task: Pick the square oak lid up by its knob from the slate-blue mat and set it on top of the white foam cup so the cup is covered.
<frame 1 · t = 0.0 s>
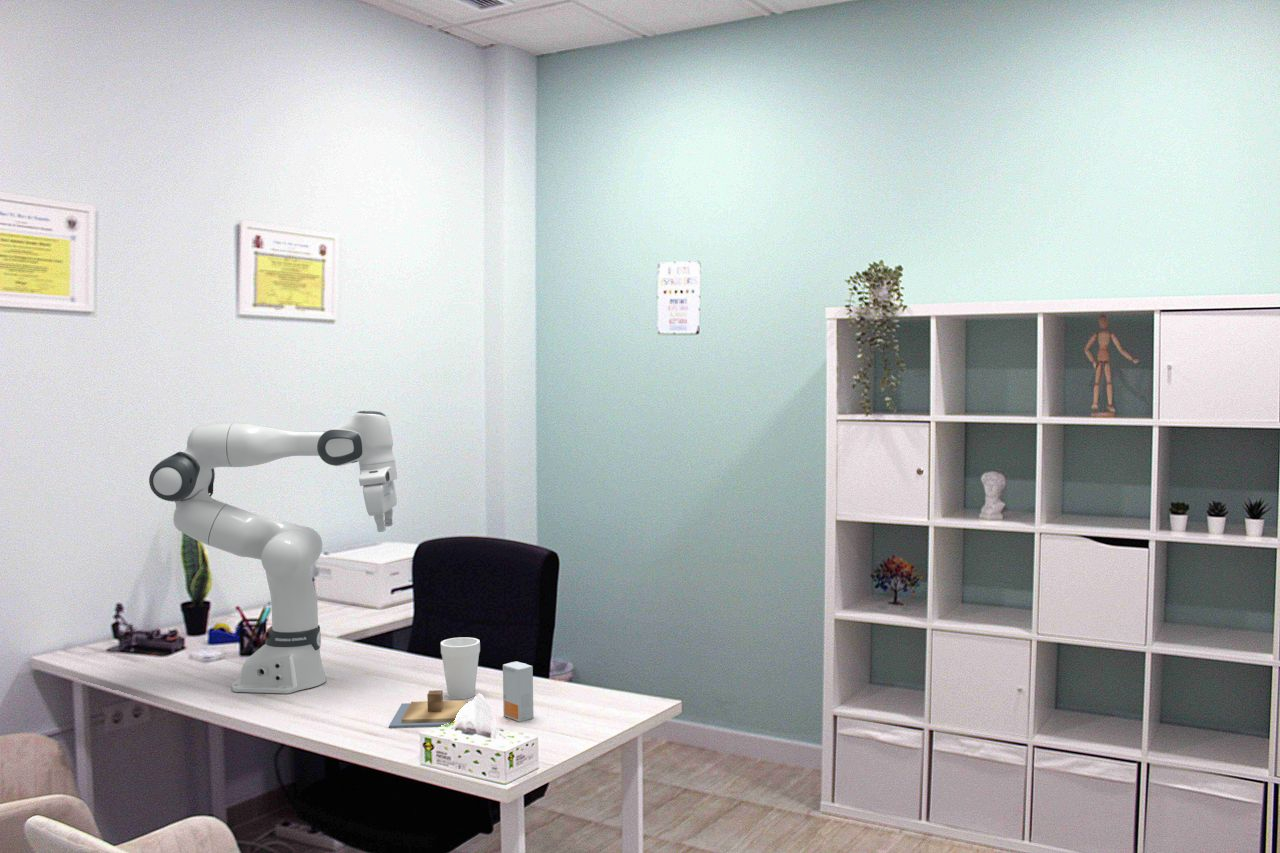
hand: (385, 528, 270), 39 cm above the table, tool pointing down, fingers open, 8 cm apart
oak lid: (435, 702, 244), on the slate mat
skincare box: (518, 718, 242), on the table
foam cup: (461, 696, 259), on the table
slate mat: (435, 715, 244), on the table
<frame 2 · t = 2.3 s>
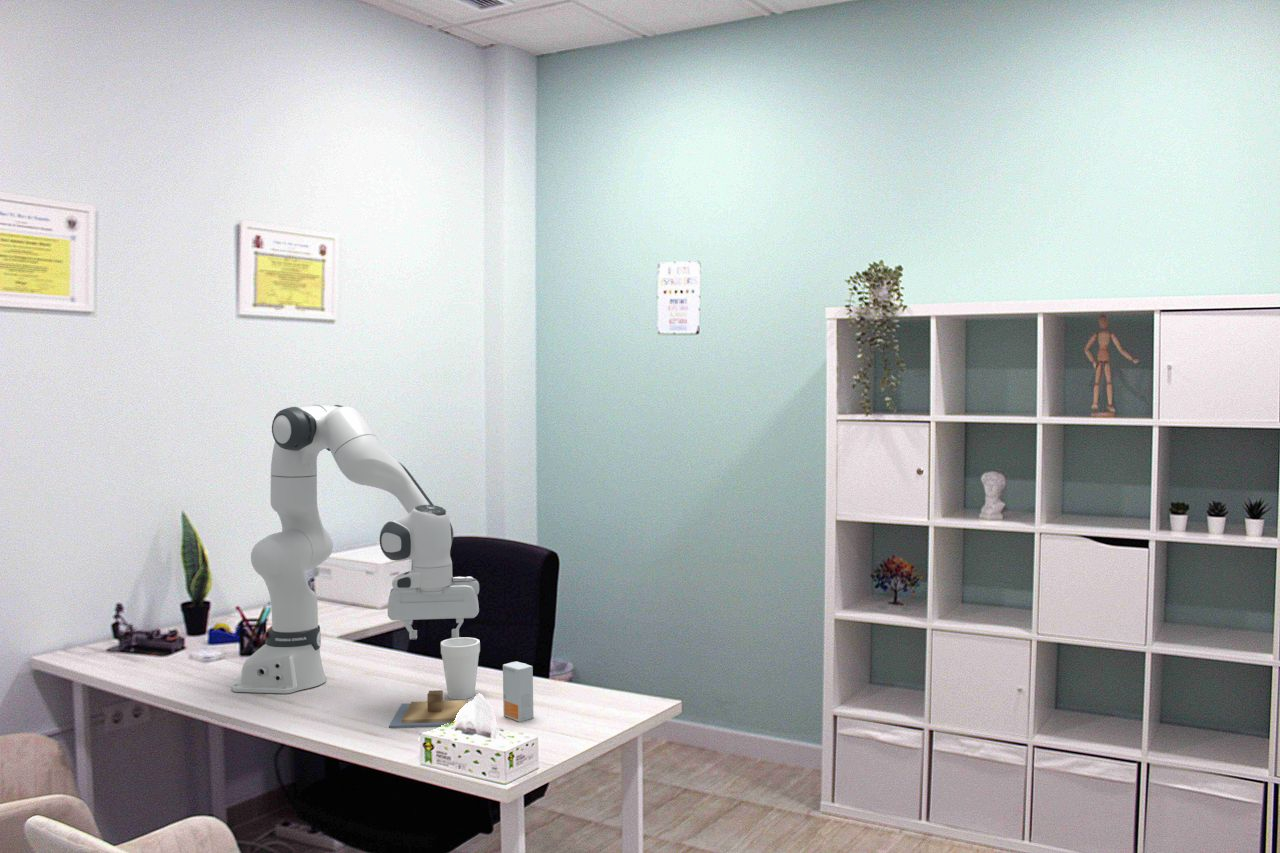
hand: (434, 638, 243), 18 cm above the table, tool pointing down, fingers open, 8 cm apart
nothing on the table moved.
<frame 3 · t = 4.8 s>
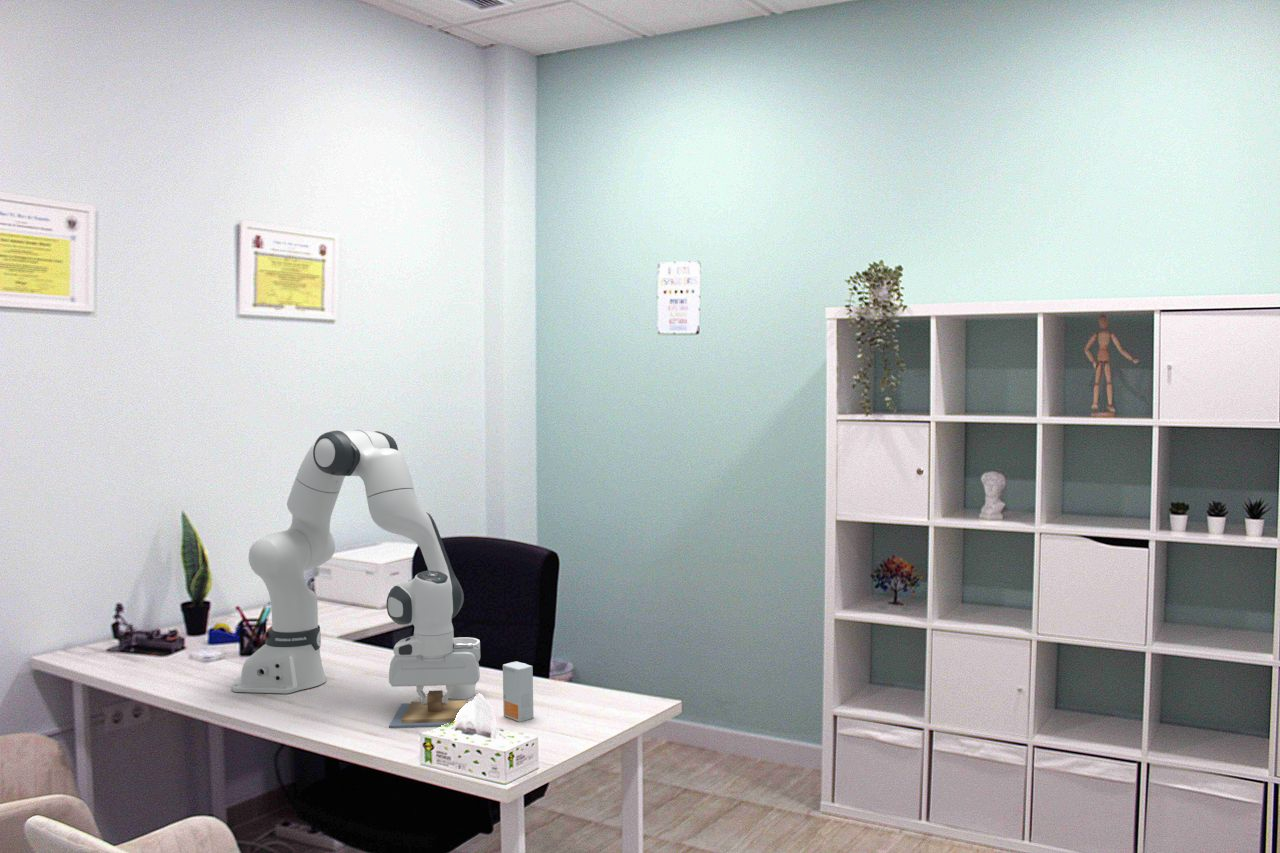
hand: (435, 704, 244), 3 cm above the table, tool pointing down, fingers closed on oak lid, 3 cm apart
oak lid: (435, 702, 244), on the slate mat, touching gripper
everything else where it was.
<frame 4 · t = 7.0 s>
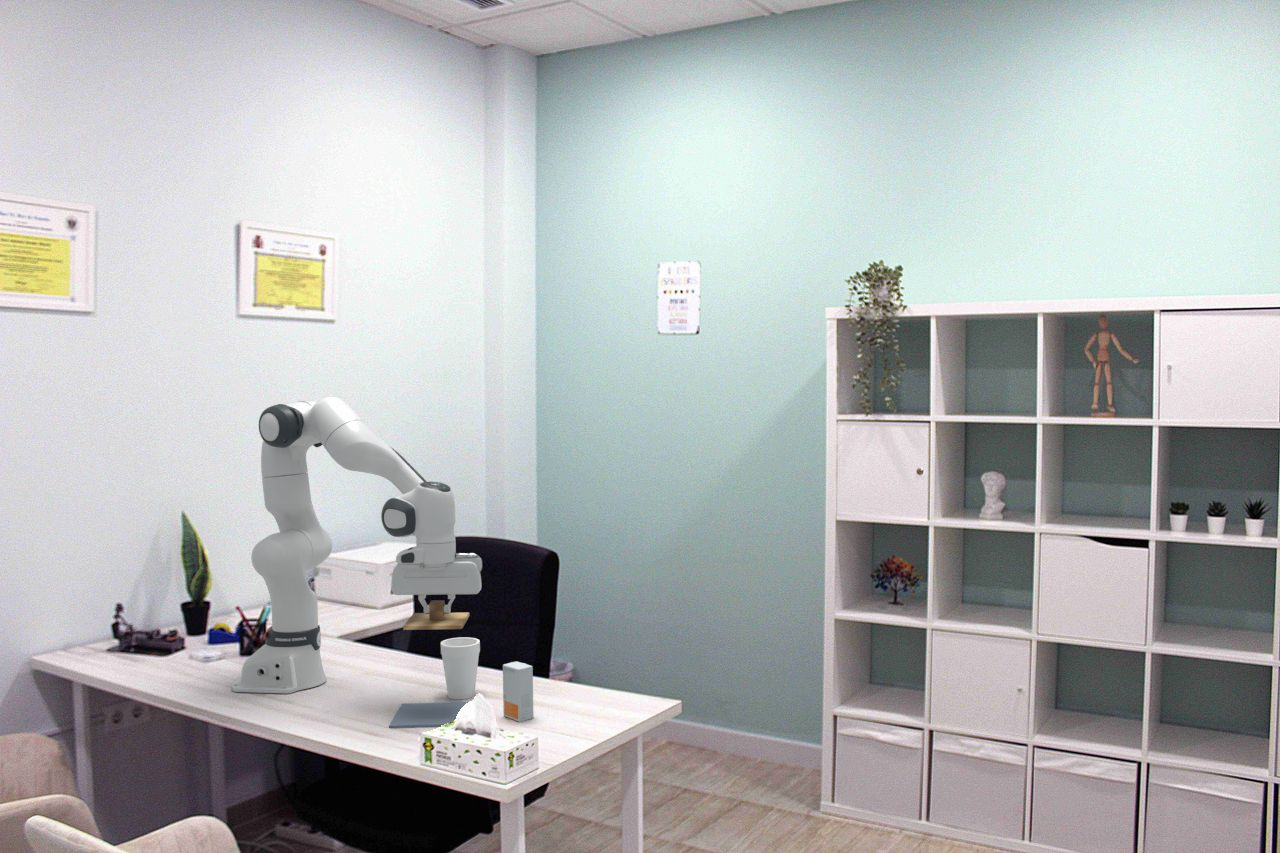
hand: (437, 613, 245), 23 cm above the table, tool pointing down, fingers closed on oak lid, 3 cm apart
oak lid: (437, 612, 245), point 23 cm above the table, touching gripper
everything else where it was.
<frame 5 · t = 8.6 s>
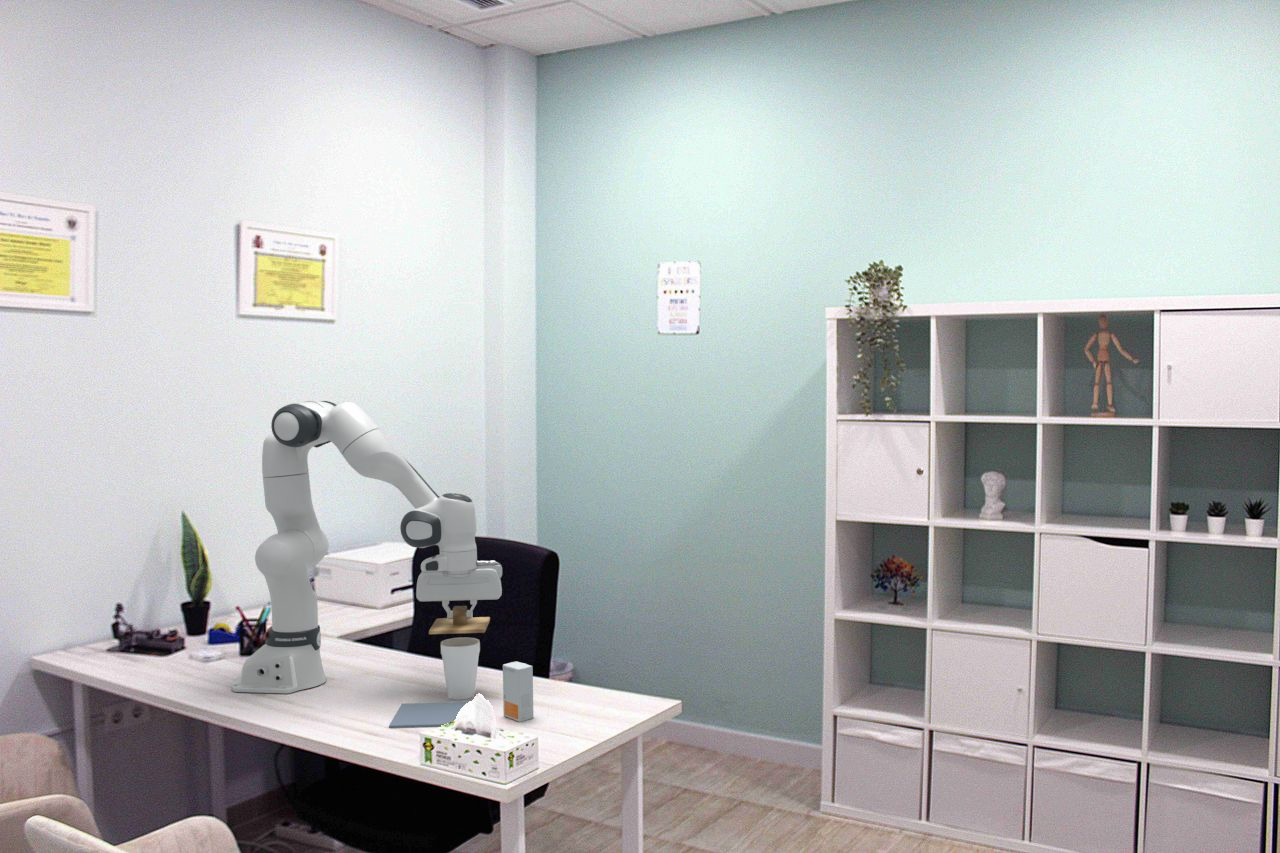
hand: (460, 618, 258), 19 cm above the table, tool pointing down, fingers closed on oak lid, 3 cm apart
oak lid: (460, 617, 258), point 19 cm above the table, touching gripper
everything else where it was.
when the fingers open (17 cm above the table, at t = 9.6 s): oak lid drops 2 cm, resting on foam cup.
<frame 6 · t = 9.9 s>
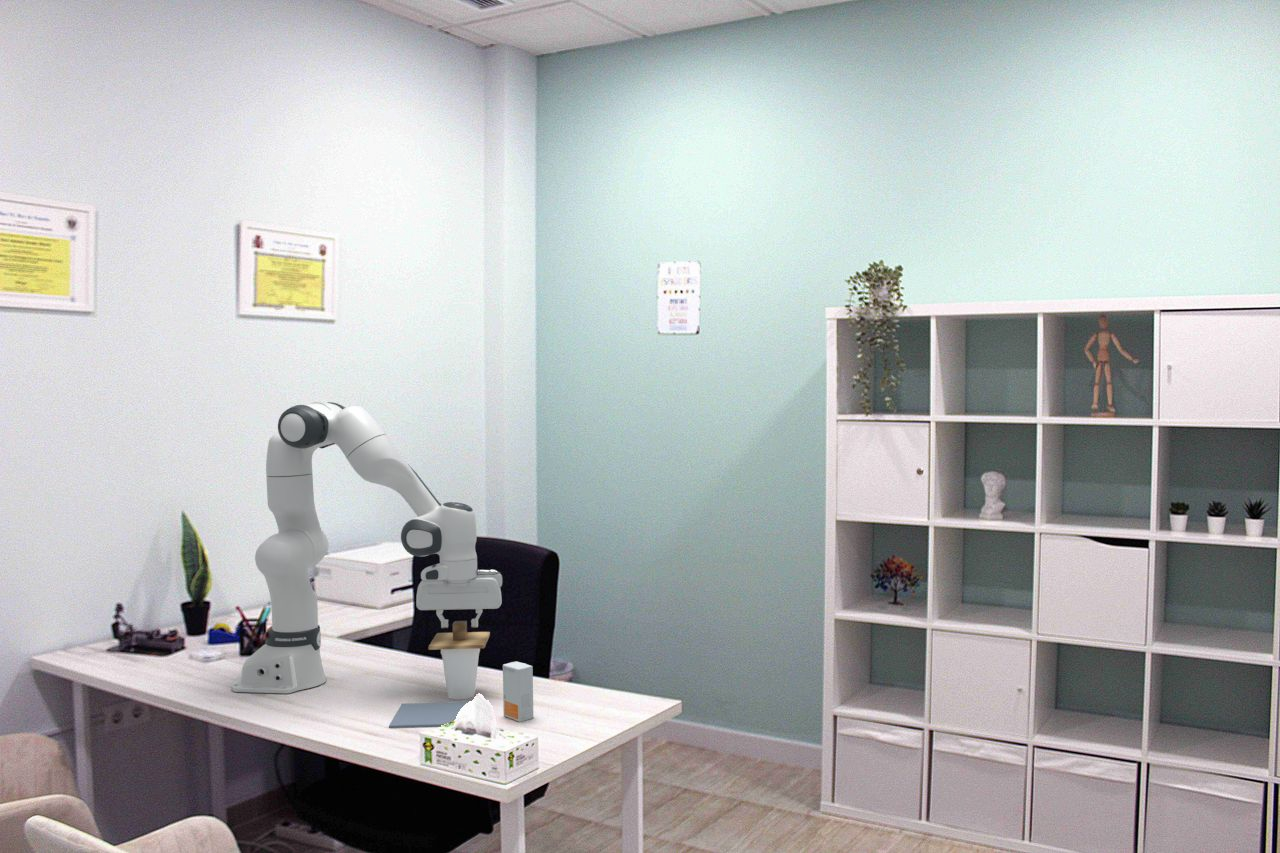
hand: (459, 627, 258), 17 cm above the table, tool pointing down, fingers open, 6 cm apart
oak lid: (459, 632, 258), point 15 cm above the table, touching foam cup
foam cup: (461, 696, 259), on the table, touching oak lid
everything else where it was.
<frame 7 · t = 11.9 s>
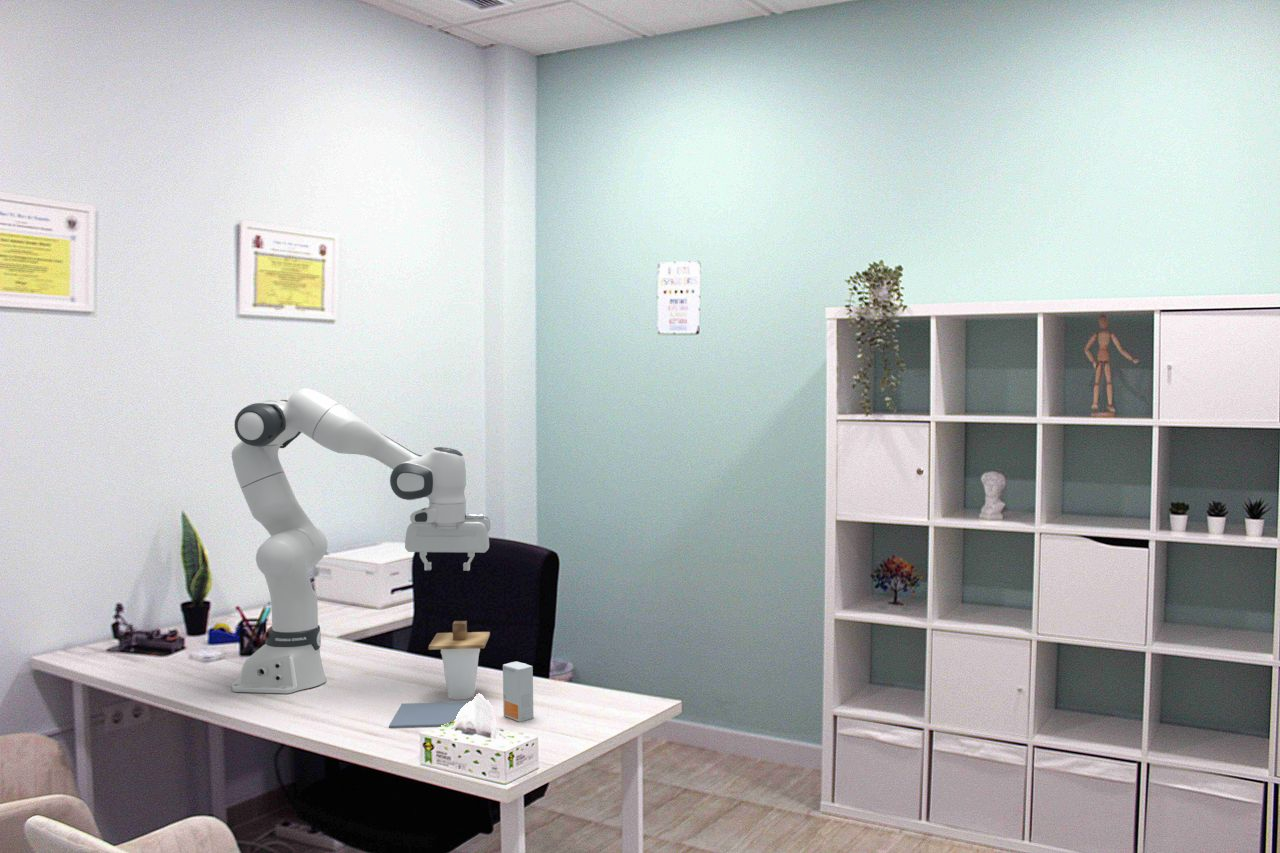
hand: (447, 570, 263), 30 cm above the table, tool pointing down, fingers open, 8 cm apart
nothing on the table moved.
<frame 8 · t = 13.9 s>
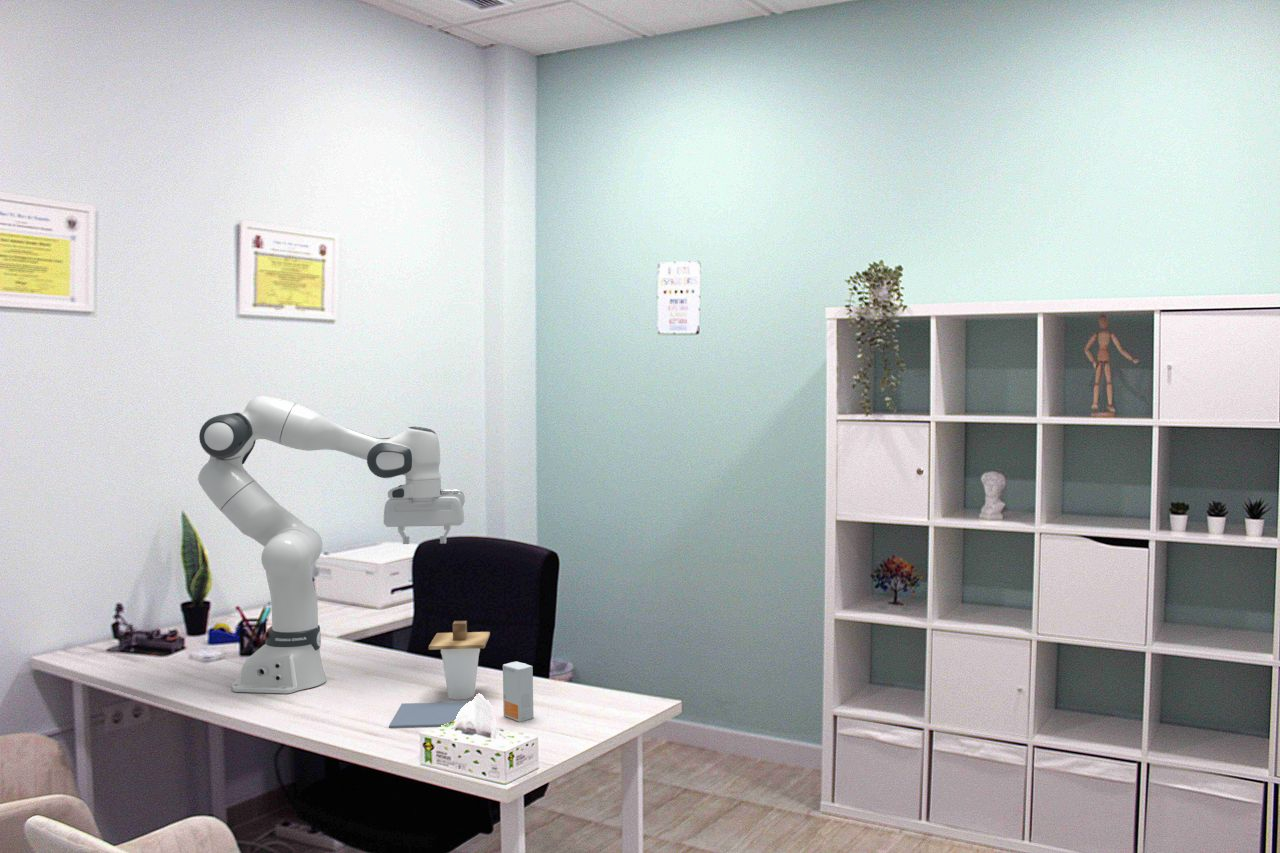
hand: (424, 543, 276), 34 cm above the table, tool pointing down, fingers open, 8 cm apart
nothing on the table moved.
at the end: oak lid 0.0 cm off-centre on the foam cup, point 15.6 cm above the foam cup's base; foam cup tilted 0°; oak lid tilted 0° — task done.
